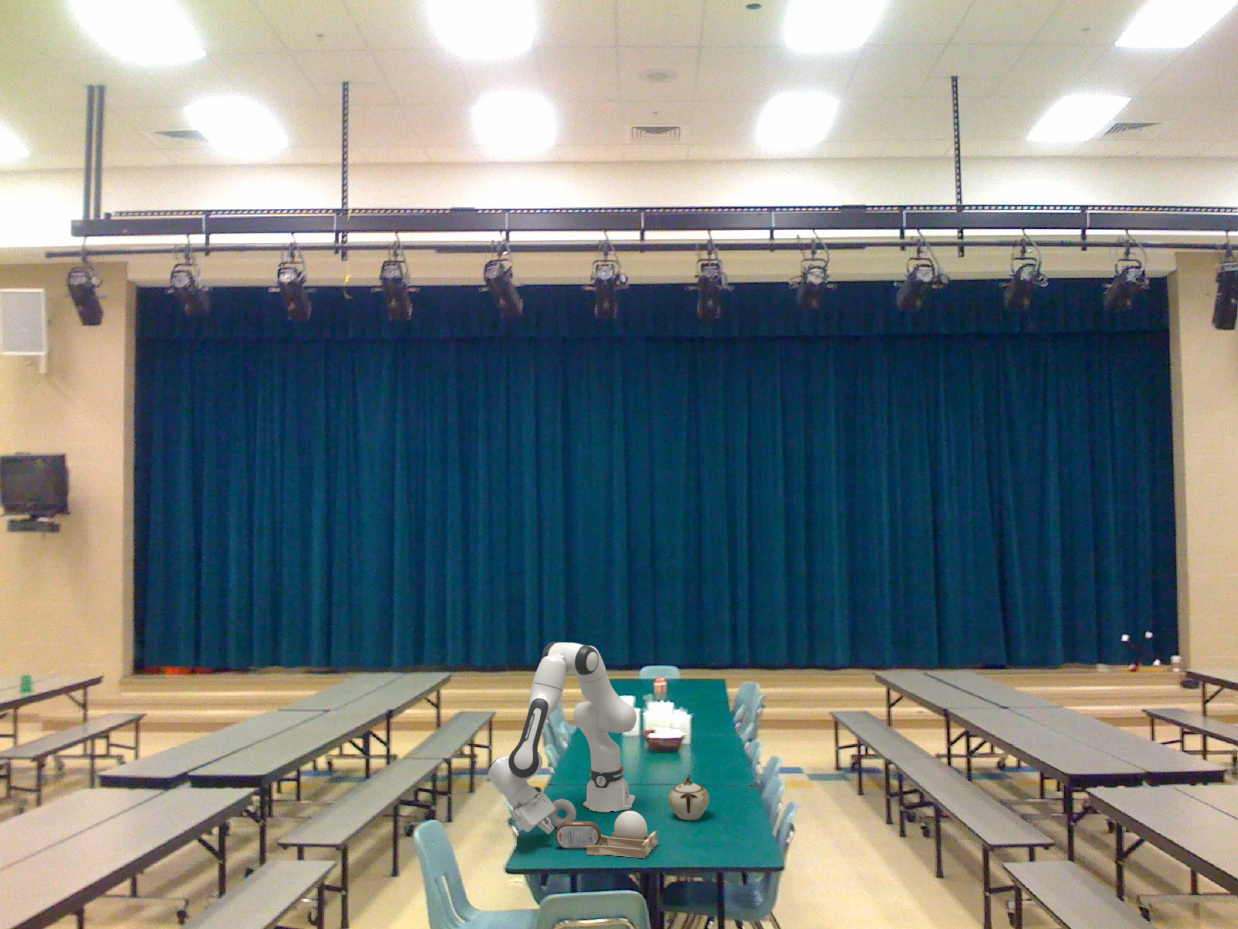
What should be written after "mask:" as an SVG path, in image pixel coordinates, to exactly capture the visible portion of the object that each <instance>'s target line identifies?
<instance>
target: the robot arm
mask: <svg viewBox="0 0 1238 929" xmlns="http://www.w3.org/2000/svg"><path fill="white" fill-rule="evenodd" d="M567 675H576V678H577V683H578V685H579V687H580V691H581V694H582V696H583V698H584V699H585V700H586V701H580V702H578V703H577V705H576V706H575V708H574V710H573V714H572V715H573V718H572V719H573V722H574V724H575V726H576V727H577V728H579V729H580V731H581V732H582V734H583V735H584V736H585V738H586V741H587V743H588V747H589V751H590V764H591V765H590V766H591V767H590V771H589V776H590V778H589V779H590V780H589V782H588V783H587V785H586V801H584V802H582V803H583V804H582V805H584V806H583V807H585V806H586V807H585V808H587V809H588V808H589V809H588V810H589V811H593V812H596V811H597V813H611V812H610V811H614V812H618V811H622V810H623V811H624V810H625V811H627V810H631V809H632V806H633V805H634V802H635V800H636V796H635V795H634V794H630V787H629V786H630V785H629V783H628V782H627V781H626V780H625V779H624V774H623V772H624V770H625V768H624V767H625V766H623V765H621V748H620V746H619V744H617V743H616V742H615V741H614V740H613V739H612V738H611V737H610V735H609V733H613V734H614V733H615V734H621V733H622V734H623V733H628V732H629V733H630V732H632V730H633V729H634V728H635V726H636V723H637V712H636V710H635V709H634V707H633V706H632V705H630V704H628V703H627V702H625V701H624V700H623V699H622V698H621V697H620V696H619V694H618V693H617V692H616V691H615V689H614V688H613V686H612V684H611V681H610V678H609V676H608V673H607V669H606V666H605V663H604V660H603V658H602V656H601V654H600V652H599V650H598V649H597V648H596V647H595V646H592V645H588V644H581V643H577V642H561V641H553V642H549V643H548V644H547V645H546V646H545V647H544V649H543V650H542V656H541V660H540V662H539V664H538V667H537V669H536V671H535V674H534V677H533V679H532V680H533V681H532V684H531V688H530V694H529V701H528V709H527V716H526V719H525V722H524V726H523V730H522V732H521V737H520V739H519V742H518V743H517V744H516V745H515V748H514V749H513V750H512V751H511V752H510V754H508V755H507V754H506V755H502V756H501V755H499V756H498V757H496V759H495V760H494V761H493V762H492V763H491V764H490V766H489V769H488V771H487V772H488V773H487V776H488V778H489V780H490V782H491V784H492V785H493V786H494V787H495V788H496V790H497V791H498V792H499V794H501V795H503V796H504V797H505V799H506V801H507V802H508V804H509V805H510V806H511V808H512V813H513V814H514V819H515V821H517V823H518V824H519V826H520V827H521V829H523V830H522V831H524V832H525V833H529V832H531V830H533V829H535V828H536V827H538V828H539V829H541V830H542V831H544V832H545V833H546V834H547V835H549V834H551V833H552V832H553V831H554V830H555V826H554V825H553V824H552V823H551V822H550V819H549V816H550V815H551V814H552V813H553V812H554V811H555V810H556V808H555V806H554V804H553V801H551V799H550V798H549V797H548V796H547V794H546V793H544V792H543V791H544V790H543V789H542V787H541V786H535V785H534V786H532V785H530V784H529V783H528V780H530V779H531V778H533V777H534V776H536V775H538V774H539V773H540V771H541V770H542V767H543V757H542V755H541V754H540V752H539V750H538V749H539V748H538V747H539V744H540V740H541V736H542V733H543V729H544V726H545V724H546V721H547V720H548V718H549V717H550V715H552V714H553V713H554V712H555V711H556V709H557V708H558V706H559V704H560V702H561V699H562V696H563V692H564V688H565V682H566V676H567ZM632 804H633V805H632ZM630 808H631V809H630Z"/></svg>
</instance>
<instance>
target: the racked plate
mask: <svg viewBox="0 0 1238 929" xmlns="http://www.w3.org/2000/svg"><path fill="white" fill-rule="evenodd" d="M647 824H648V823H647V822H646V820H645V818H644V817H643V816H642V815H641V814H640V813H639V812H637V811H635V810H625V811H624V812H621V813H620V814H619V815H618V816H617V817H616V819H615V822H614V825H613V826H614V827H613V828H614V829H613V830H614V832H615V834H616V836H617V838H628V839H640V840H644V839H645V837H646V835H648V825H647Z"/></svg>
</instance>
